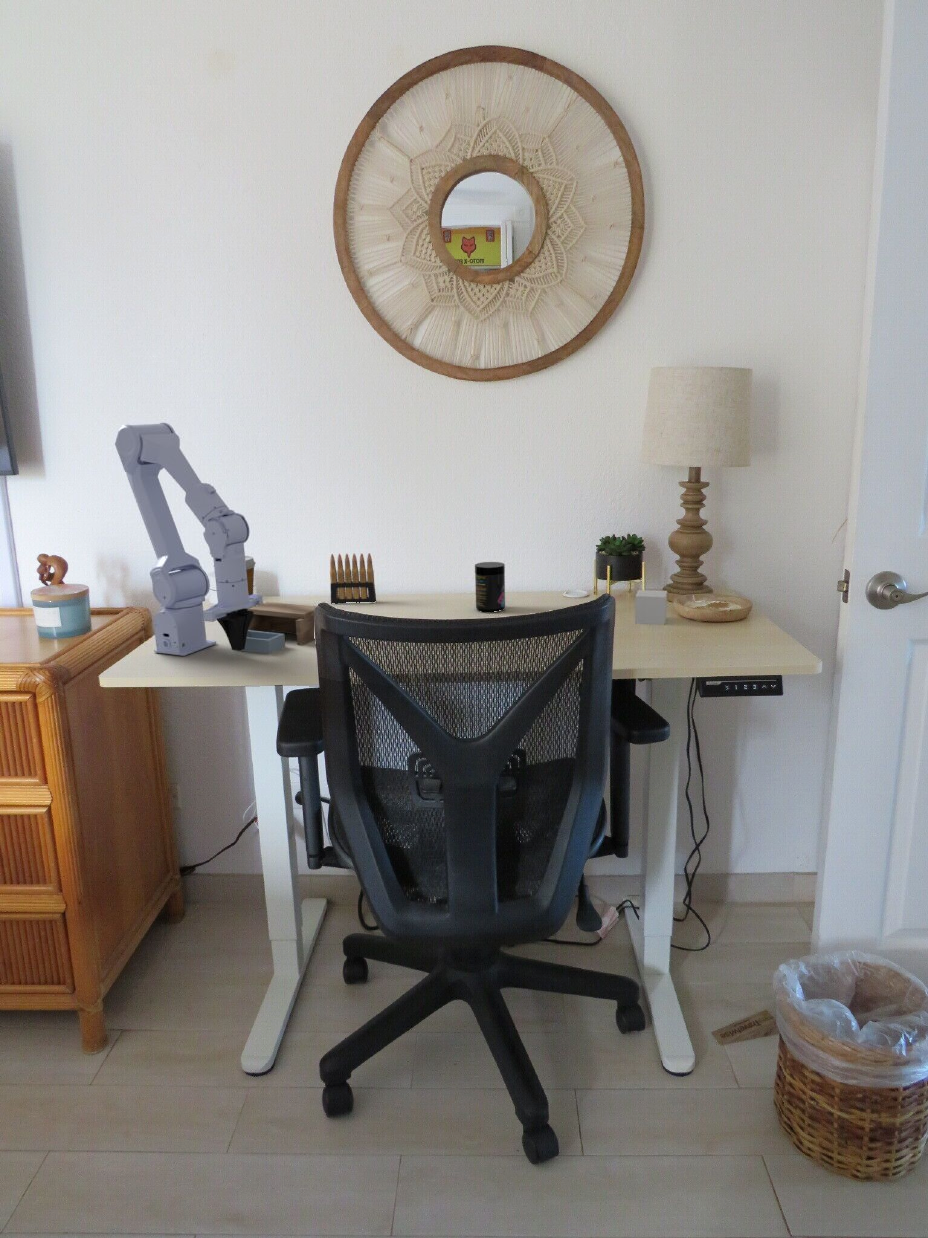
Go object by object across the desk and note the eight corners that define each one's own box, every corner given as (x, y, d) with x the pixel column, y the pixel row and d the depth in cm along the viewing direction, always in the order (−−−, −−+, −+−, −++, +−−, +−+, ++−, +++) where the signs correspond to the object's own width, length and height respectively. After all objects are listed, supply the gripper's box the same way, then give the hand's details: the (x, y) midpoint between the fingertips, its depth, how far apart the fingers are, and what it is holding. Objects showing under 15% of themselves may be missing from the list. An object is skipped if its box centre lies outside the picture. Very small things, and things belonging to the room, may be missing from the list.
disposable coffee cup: (265, 604, 207) (260, 554, 204) (251, 613, 198) (246, 562, 195) (226, 604, 208) (222, 555, 205) (211, 613, 199) (206, 562, 196)
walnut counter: (301, 645, 171) (299, 616, 169) (245, 638, 177) (242, 610, 175) (324, 635, 178) (322, 606, 176) (269, 629, 184) (267, 601, 182)
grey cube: (664, 625, 178) (665, 597, 176) (634, 624, 180) (635, 596, 178) (666, 618, 183) (667, 590, 182) (637, 617, 185) (638, 589, 184)
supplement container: (497, 614, 190) (496, 568, 188) (470, 611, 194) (469, 566, 191) (510, 607, 196) (509, 562, 194) (484, 605, 199) (483, 561, 197)
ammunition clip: (330, 604, 205) (327, 554, 202) (332, 602, 207) (328, 553, 204) (375, 603, 205) (372, 553, 202) (376, 601, 206) (373, 552, 203)
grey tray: (269, 655, 166) (268, 640, 165) (232, 650, 170) (231, 636, 169) (285, 648, 170) (284, 633, 170) (249, 644, 174) (247, 630, 173)
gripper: (222, 589, 153) (229, 662, 156) (272, 573, 166) (278, 641, 169) (191, 586, 156) (199, 658, 159) (243, 571, 169) (250, 638, 172)
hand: (238, 649), depth 164 cm, fingers closed
